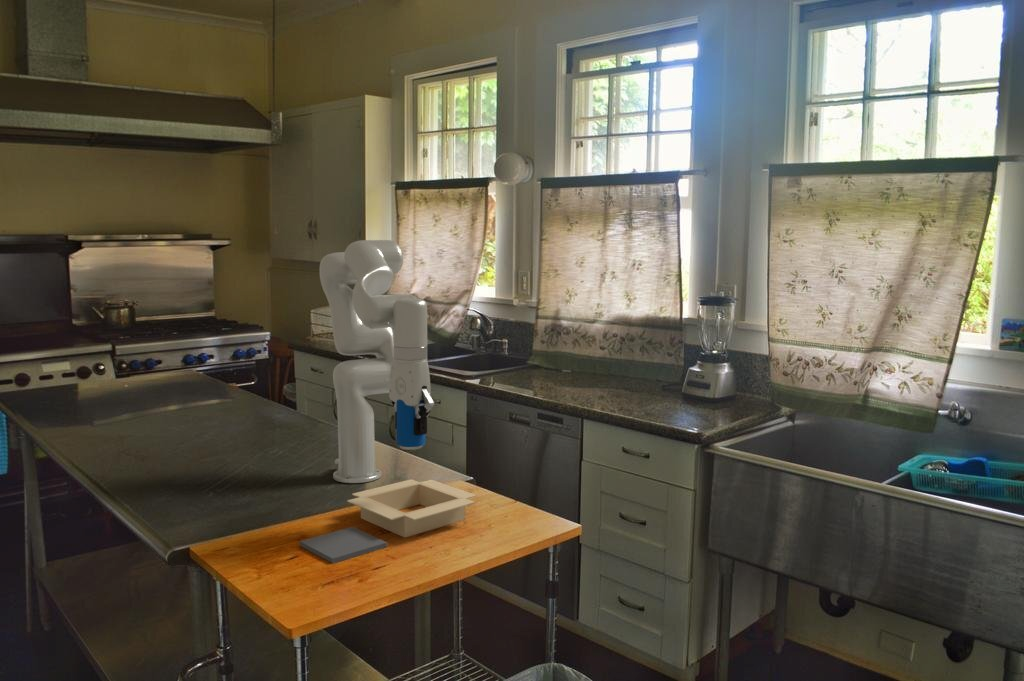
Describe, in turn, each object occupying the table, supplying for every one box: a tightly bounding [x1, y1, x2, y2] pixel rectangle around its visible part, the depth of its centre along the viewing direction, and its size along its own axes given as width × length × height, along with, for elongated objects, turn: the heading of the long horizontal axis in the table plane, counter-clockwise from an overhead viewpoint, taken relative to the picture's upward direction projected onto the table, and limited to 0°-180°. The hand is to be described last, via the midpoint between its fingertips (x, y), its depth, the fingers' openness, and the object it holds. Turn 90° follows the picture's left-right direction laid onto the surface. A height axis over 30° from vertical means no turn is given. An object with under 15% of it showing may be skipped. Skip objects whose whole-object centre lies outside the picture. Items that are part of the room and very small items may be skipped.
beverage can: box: [396, 399, 426, 451], centre depth 195 cm, size 6×6×12 cm
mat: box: [299, 526, 388, 564], centre depth 180 cm, size 13×13×1 cm
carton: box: [346, 478, 478, 538], centre depth 197 cm, size 24×24×5 cm
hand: (411, 430), depth 195 cm, fingers closed on beverage can, 6 cm apart
